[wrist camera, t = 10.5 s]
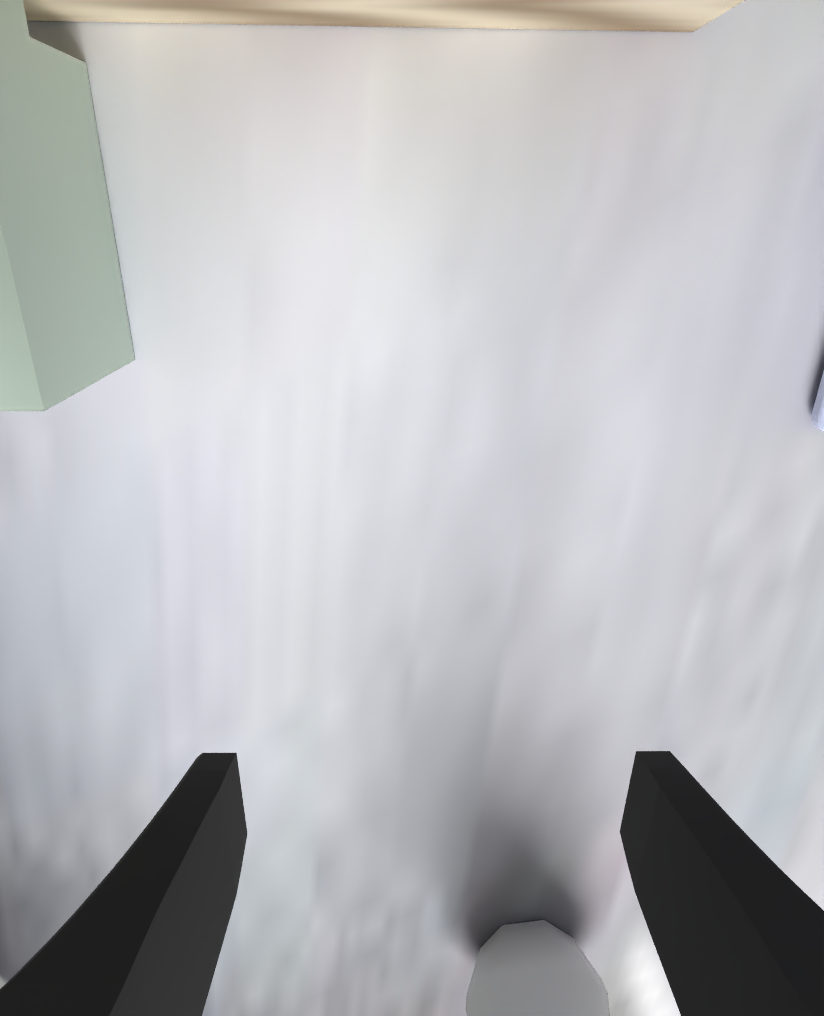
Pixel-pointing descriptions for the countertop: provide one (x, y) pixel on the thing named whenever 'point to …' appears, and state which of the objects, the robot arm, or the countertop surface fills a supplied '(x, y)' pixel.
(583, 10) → the maple slat
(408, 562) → the countertop surface
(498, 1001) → the salt shaker
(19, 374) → the green plate
